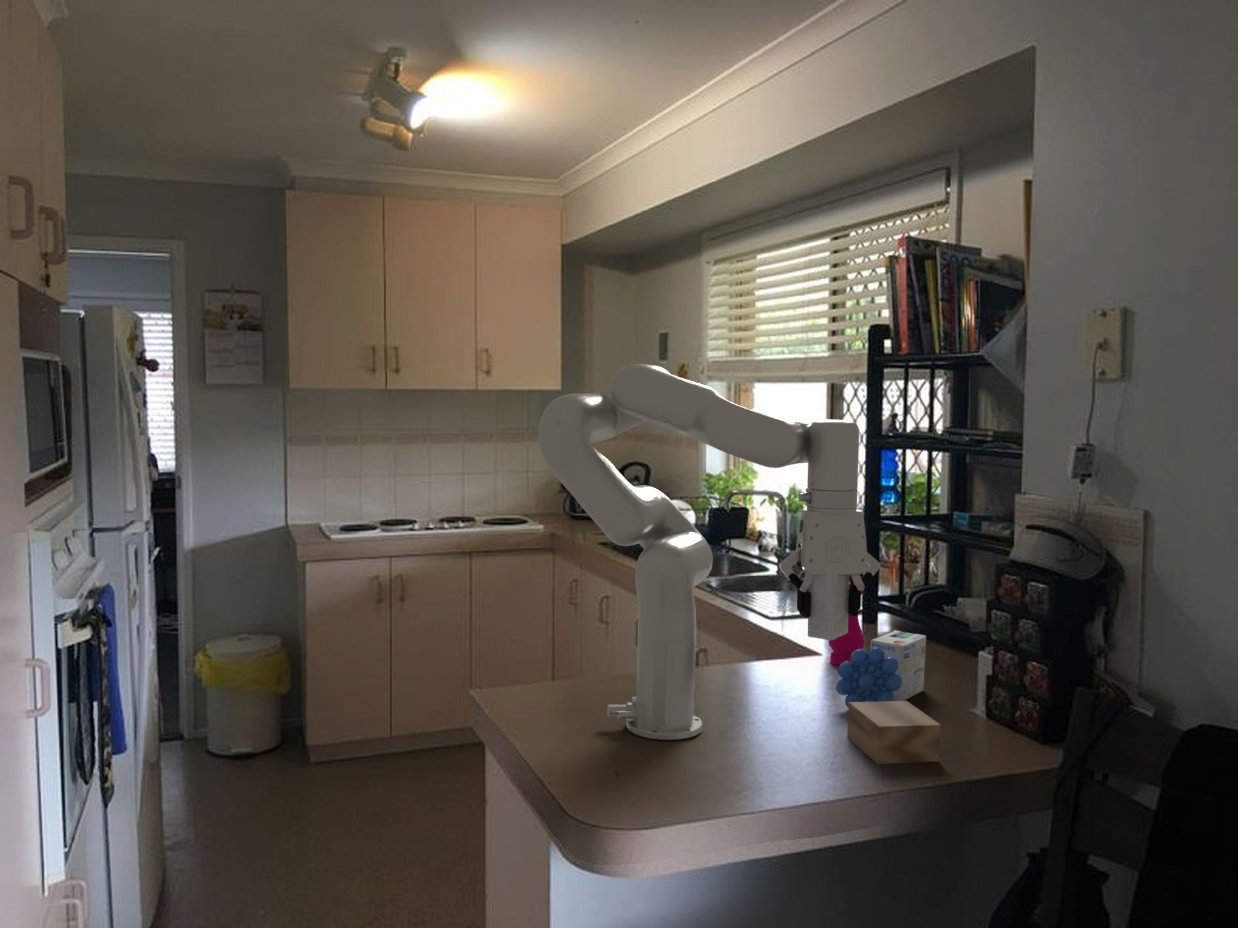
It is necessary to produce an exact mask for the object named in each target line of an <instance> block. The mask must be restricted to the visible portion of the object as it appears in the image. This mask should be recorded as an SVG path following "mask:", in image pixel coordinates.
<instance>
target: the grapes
mask: <svg viewBox="0 0 1238 928" xmlns="http://www.w3.org/2000/svg"><path fill="white" fill-rule="evenodd" d="M884 657H885V653H884V651H883V650H882V648H878V647H875V648H872V649H871V650H869V651H868V652H867V651H866V650H864V649H857V650H855V651H854V652H853V653H852V654H851V662H848V661H846V662H843V663H842V664H841V665H840V666H838V671H837V672H838V675H839V676H840V677H841V678H840V679H839V680H838V681H837V682H836V686H835V690H836V692H837V693H838V694H839V695H840V696H845V697H844V704H845V706H846V707H847V709H849V702H879V701H894V694H893V693H892V691H896V690H898V689H899V688H900V687H901V686H902V678H901V677H900V675H898V674H894V673H895V672H896V671H897V670H898V664H899V663H898V661H897V660H896V658H893V657H888V658H885V659H884Z"/></svg>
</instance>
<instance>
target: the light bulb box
mask: <svg viewBox="0 0 1238 928" xmlns="http://www.w3.org/2000/svg"><path fill="white" fill-rule="evenodd" d="M926 643H927V635H924V634H919V633H911V632H905V631H900V630H892V631H889V632H888V633H886V634H883V635H881V636H878V637H875V638H873V639H870V646H869V647H870V648H869V649H870V650H871V649H872V648H875V647H878V648H882V650H883V651H884V653H885V657H884V659H885V658H888V657H893V658H896V660H897V661H898V663H899V664H898V670H897V671H896V672H895V673H894V674H898V675H900V677H901V678H902V686H901V687H900V688H899V689H898V690H896V691H892V693H893V694H894V701H907V699H910V698H911V697H913V696H915V695H917V694H920V693H921V692H923V691H924V685H925V664H926ZM870 650H869V651H870Z"/></svg>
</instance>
